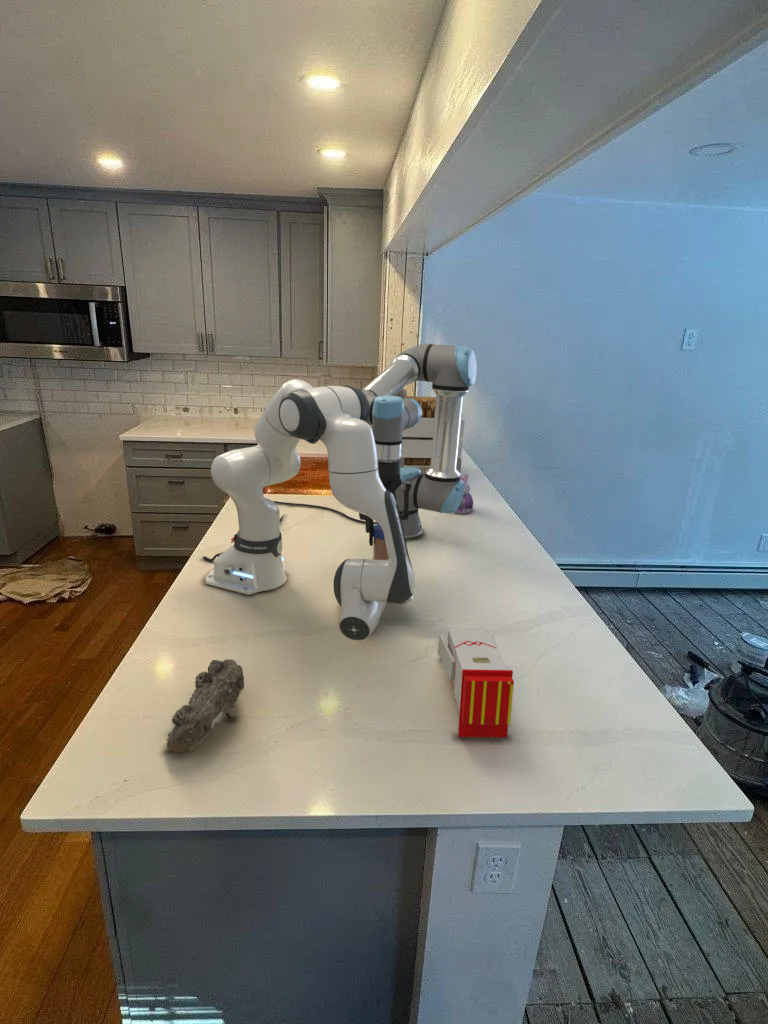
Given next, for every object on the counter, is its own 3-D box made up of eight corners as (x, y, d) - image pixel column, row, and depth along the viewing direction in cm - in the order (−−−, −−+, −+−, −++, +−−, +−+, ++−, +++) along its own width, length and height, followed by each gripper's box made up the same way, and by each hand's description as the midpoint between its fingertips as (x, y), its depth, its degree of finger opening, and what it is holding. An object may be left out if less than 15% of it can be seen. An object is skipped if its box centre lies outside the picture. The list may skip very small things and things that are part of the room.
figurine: (459, 516, 220) (463, 478, 214) (445, 507, 228) (448, 471, 223) (479, 513, 224) (483, 476, 219) (464, 505, 232) (468, 469, 227)
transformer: (382, 463, 289) (386, 382, 275) (445, 464, 293) (451, 384, 279) (390, 482, 257) (394, 392, 243) (460, 483, 261) (468, 394, 247)
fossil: (192, 660, 117) (244, 628, 112) (224, 691, 120) (276, 661, 115) (142, 746, 98) (202, 712, 93) (182, 779, 101) (242, 748, 96)
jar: (388, 592, 158) (391, 526, 151) (388, 601, 154) (391, 533, 147) (371, 592, 158) (374, 525, 152) (370, 600, 154) (373, 532, 147)
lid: (391, 531, 153) (392, 523, 152) (394, 539, 148) (394, 531, 147) (371, 531, 152) (371, 523, 151) (373, 539, 147) (373, 531, 146)
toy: (488, 613, 130) (523, 677, 101) (484, 667, 133) (517, 744, 104) (435, 612, 130) (455, 676, 101) (432, 666, 133) (451, 743, 103)
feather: (291, 508, 223) (294, 504, 222) (274, 533, 196) (277, 528, 195) (287, 506, 222) (290, 502, 222) (270, 530, 196) (272, 526, 195)
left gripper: (411, 591, 139) (419, 568, 152) (331, 580, 143) (346, 558, 155) (410, 614, 141) (418, 589, 154) (331, 602, 145) (345, 579, 158)
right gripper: (419, 455, 147) (414, 538, 155) (348, 454, 145) (347, 538, 153) (424, 463, 140) (418, 549, 148) (350, 462, 138) (348, 549, 146)
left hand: (381, 573), depth 155 cm, fingers closed on jar, 4 cm apart
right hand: (382, 543), depth 151 cm, fingers closed on lid, 5 cm apart
